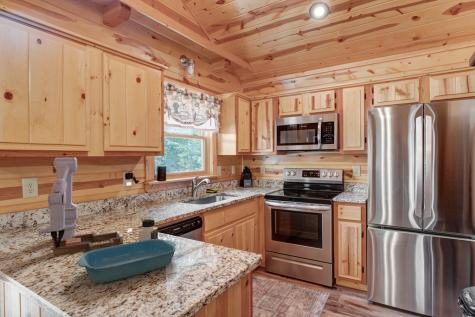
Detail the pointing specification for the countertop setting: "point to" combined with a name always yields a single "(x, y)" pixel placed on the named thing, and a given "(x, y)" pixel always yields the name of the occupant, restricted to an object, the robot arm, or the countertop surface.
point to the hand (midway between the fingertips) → (57, 246)
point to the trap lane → (89, 243)
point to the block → (73, 241)
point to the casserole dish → (127, 259)
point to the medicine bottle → (148, 230)
